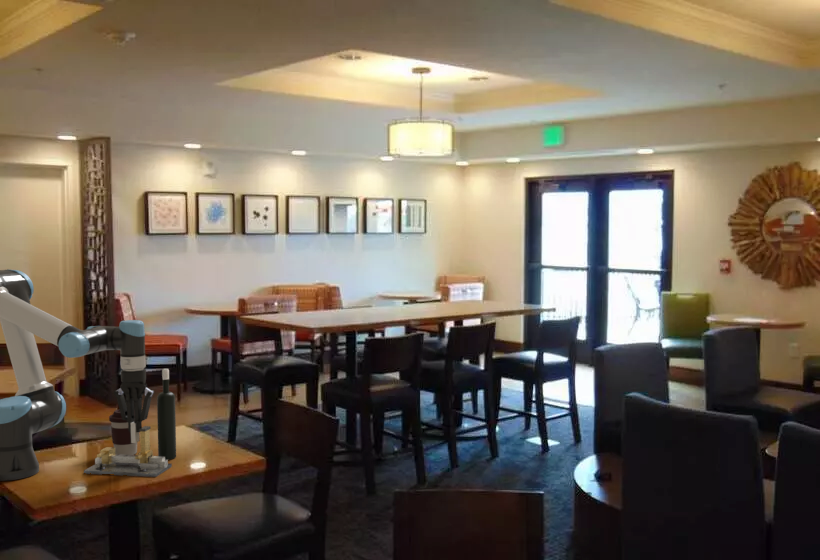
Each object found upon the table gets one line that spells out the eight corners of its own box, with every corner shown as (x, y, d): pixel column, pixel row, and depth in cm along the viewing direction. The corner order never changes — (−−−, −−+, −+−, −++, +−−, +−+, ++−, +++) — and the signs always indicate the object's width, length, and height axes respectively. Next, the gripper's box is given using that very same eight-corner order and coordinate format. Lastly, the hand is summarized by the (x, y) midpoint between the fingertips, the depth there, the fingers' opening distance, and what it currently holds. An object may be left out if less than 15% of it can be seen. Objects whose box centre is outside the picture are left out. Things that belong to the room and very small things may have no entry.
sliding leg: (132, 469, 251) (131, 431, 250) (144, 462, 258) (143, 425, 258) (141, 470, 250) (140, 432, 250) (152, 462, 258) (152, 426, 257)
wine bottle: (164, 461, 265) (162, 371, 263) (154, 457, 269) (153, 369, 267) (179, 457, 269) (177, 368, 267) (169, 454, 273) (168, 366, 271)
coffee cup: (131, 458, 267) (129, 414, 266) (104, 457, 269) (103, 413, 268) (146, 450, 277) (145, 408, 276) (120, 449, 279) (119, 406, 278)
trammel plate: (83, 473, 251) (83, 454, 251) (102, 463, 262) (101, 445, 262) (156, 477, 248) (155, 458, 247) (171, 466, 259) (171, 448, 258)
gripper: (108, 370, 252) (110, 444, 253) (147, 371, 250) (149, 445, 252) (120, 366, 259) (122, 438, 261) (158, 367, 257) (159, 439, 259)
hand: (135, 441), depth 256 cm, fingers closed
